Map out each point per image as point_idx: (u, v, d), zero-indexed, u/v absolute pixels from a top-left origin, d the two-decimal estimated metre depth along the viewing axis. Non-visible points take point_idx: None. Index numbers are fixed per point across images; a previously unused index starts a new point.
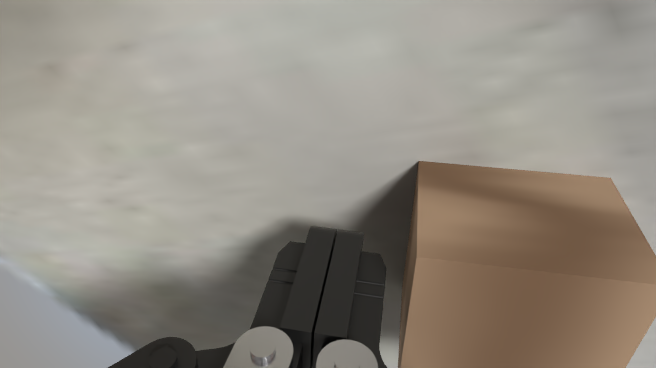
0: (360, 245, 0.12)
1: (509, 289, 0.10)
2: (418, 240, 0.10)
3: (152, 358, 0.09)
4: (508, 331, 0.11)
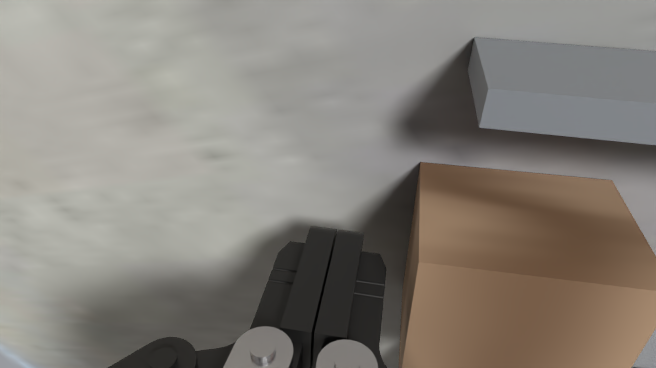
0: (360, 245, 0.12)
1: (511, 295, 0.10)
2: (420, 245, 0.10)
3: (152, 358, 0.09)
4: (510, 337, 0.11)
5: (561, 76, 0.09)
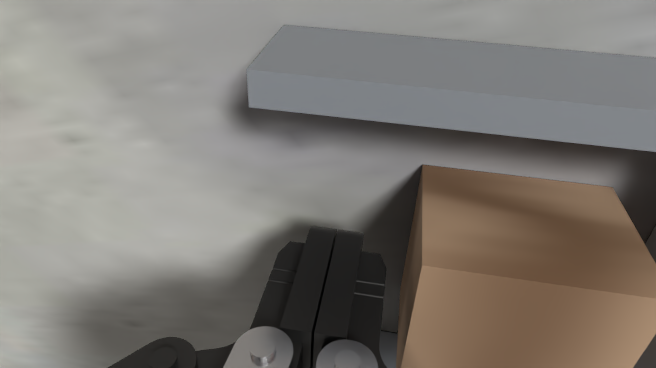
0: (360, 245, 0.12)
1: (513, 300, 0.10)
2: (423, 248, 0.10)
3: (152, 358, 0.09)
4: (510, 341, 0.11)
5: (329, 60, 0.10)
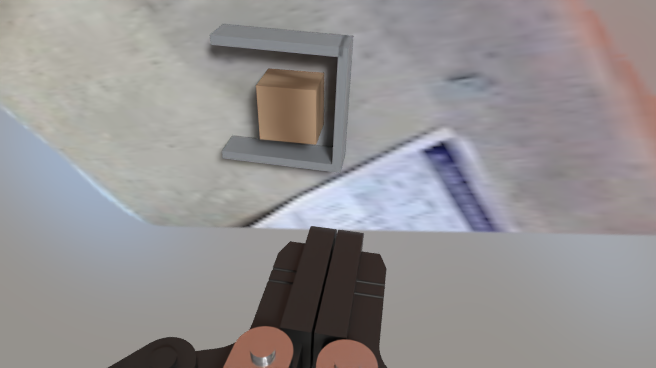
0: (360, 245, 0.12)
1: (280, 94, 0.39)
2: (258, 83, 0.39)
3: (152, 358, 0.09)
4: (283, 109, 0.40)
5: (231, 33, 0.39)
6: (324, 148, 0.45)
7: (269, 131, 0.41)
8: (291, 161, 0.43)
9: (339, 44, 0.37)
